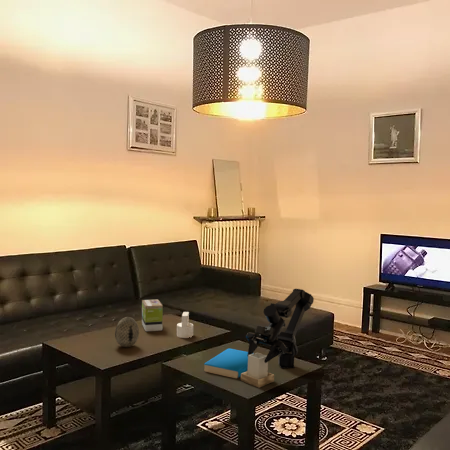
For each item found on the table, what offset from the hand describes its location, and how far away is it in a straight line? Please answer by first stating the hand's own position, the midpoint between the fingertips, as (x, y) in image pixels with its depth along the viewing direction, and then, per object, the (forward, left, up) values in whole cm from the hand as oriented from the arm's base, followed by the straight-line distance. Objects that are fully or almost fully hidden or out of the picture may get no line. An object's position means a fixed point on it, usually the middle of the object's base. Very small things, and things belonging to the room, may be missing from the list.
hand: (256, 359), depth 206 cm
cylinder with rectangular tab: (+30, -65, -10) cm, 72 cm away
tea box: (+49, -80, -10) cm, 94 cm away
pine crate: (-1, -1, -10) cm, 10 cm away
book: (+8, -18, -10) cm, 22 cm away
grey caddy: (-1, -1, -9) cm, 9 cm away
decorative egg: (+59, -45, -10) cm, 75 cm away
